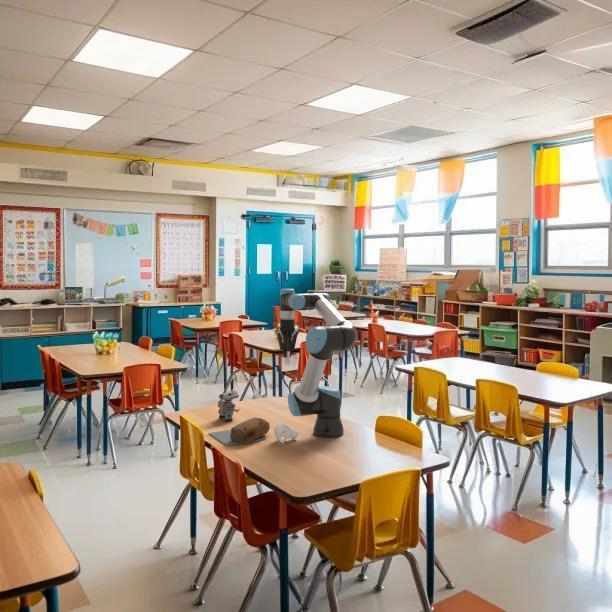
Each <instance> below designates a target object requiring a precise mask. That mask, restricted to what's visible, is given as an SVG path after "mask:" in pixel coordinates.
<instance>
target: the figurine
mask: <svg viewBox="0 0 612 612" xmlns="http://www.w3.org/2000/svg"><path fill="white" fill-rule="evenodd" d="M218 398H219V400H218V403H217V408H219V409H218V415H219V416H218V418H219V419H224V422H226V423H228V422H232V421H233V420H234V419H233V416H234V412H236V413H238V412H239V411H240V409H241V408H239V409H235V408H236V407H237V406H236V404H235V403H233V402H232V400H235V399H238V398H239V393H238V391H237V390H230V391H227V392H223V393H220V394H219V396H218ZM223 400H224V401H223Z"/></svg>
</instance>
